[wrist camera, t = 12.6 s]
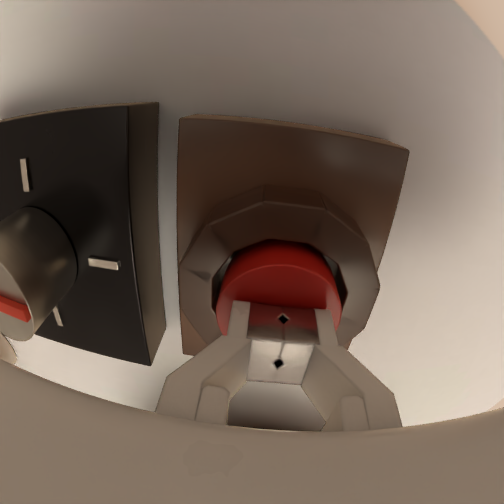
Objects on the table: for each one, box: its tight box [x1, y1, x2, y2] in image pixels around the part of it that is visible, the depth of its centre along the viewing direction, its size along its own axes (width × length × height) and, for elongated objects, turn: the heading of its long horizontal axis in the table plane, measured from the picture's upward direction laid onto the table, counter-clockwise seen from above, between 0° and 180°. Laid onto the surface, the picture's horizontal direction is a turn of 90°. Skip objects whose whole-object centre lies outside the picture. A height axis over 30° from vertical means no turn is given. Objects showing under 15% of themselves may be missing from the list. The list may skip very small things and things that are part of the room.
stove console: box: [0, 102, 166, 366], centre depth 13 cm, size 12×10×3 cm
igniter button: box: [216, 239, 342, 336], centre depth 10 cm, size 4×4×2 cm
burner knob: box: [0, 207, 77, 341], centre depth 10 cm, size 4×4×4 cm
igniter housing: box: [177, 114, 409, 356], centre depth 12 cm, size 11×8×4 cm
